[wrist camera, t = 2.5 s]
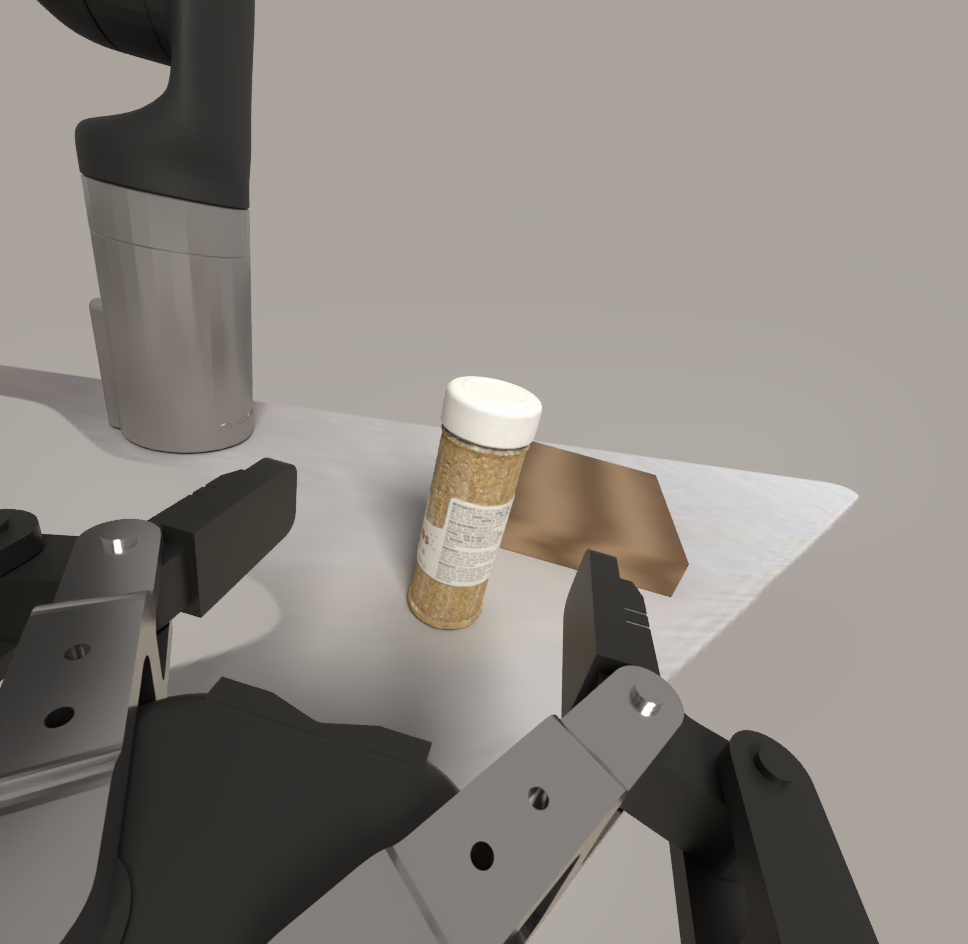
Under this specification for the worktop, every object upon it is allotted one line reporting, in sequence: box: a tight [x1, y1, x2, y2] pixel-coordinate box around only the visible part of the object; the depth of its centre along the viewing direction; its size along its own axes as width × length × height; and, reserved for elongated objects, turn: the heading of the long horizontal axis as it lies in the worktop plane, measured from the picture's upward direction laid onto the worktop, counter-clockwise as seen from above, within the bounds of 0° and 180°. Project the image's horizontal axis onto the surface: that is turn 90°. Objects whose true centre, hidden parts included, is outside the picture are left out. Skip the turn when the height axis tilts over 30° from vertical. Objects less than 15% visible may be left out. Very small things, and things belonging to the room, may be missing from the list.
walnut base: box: [500, 441, 689, 597], centre depth 38 cm, size 14×14×3 cm
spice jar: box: [408, 376, 542, 629], centre depth 24 cm, size 5×5×14 cm
